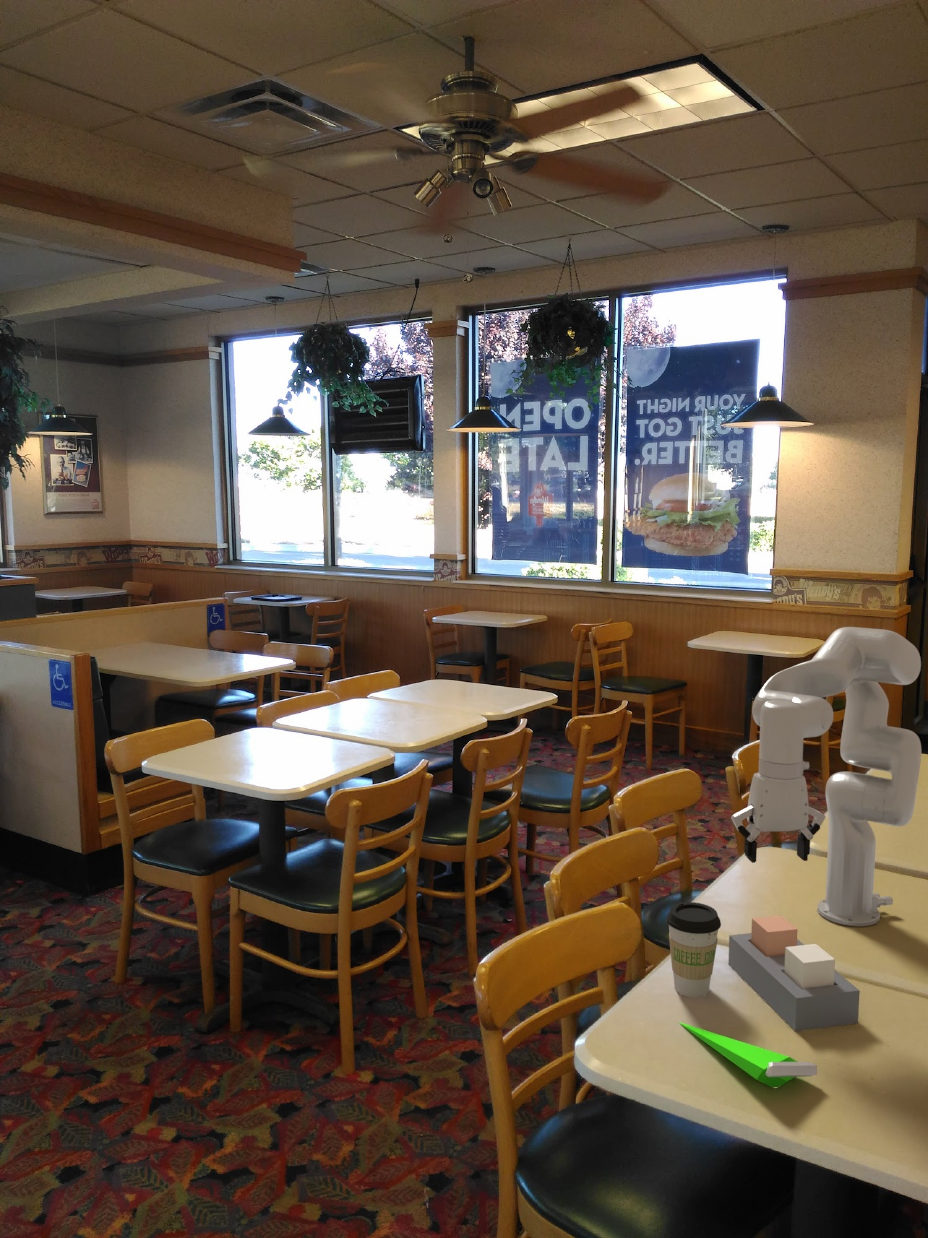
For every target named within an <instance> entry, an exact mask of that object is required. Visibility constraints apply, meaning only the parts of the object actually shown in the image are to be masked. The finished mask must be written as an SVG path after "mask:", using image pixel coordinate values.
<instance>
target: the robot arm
mask: <svg viewBox="0 0 928 1238" xmlns="http://www.w3.org/2000/svg"><path fill="white" fill-rule="evenodd" d="M921 659H922V658H921V656H920V652H919V650H918V648H917V647H916V646H915V645H914V644H913V643H911V642H910V641H909V640H908V639H906V638H905V637H904V636H902V635H901V634H899V633H898V632H896V631H892V630H888V629H881V628H870V627H869V628H868V627H859V626H858V627H856V626H845V627H839V628H837V629H836V630H834V631H833V632H831V634H830V635H829V636H828V638H827V639H826V640H825V641H824V643H823V644H822V645H821V647H820V648H819V650H818V651H817V652H816V653H815V655H814V656H813V657H812V659H810V660H807V661H805V662H801V663H798V664H796V665H793V666H791V667H789V668H785V669H782V670H781V671H779V672H776V673H775V674H774V675H772V676H770V677H769V678H768V680H766V682H765V683H764V684H763V686H762V687H761V688H760V690H759V691H758V692H757V694H756V696H755V698H754V700H753V703H752V708H751V713H752V718H753V720H754V722H755V724H756V725H757V726H759V728H760V729H759V746H758V747H759V749H758V752H759V754H758V772H755V773H753V776H752V778H751V784H750V788H749V795H748V801H747V807H745V808H743V809H741V810H739V811H738V812H735V813H734V814H733V815H731V817H730V819H731V821H732V822H733V825H734V826H735V829H736V831H738V832H739V833H740V834H741V835H742V836H743V838H744V847H743V848H744V851H743V852H744V856H745V857H746V859H748V860H749V861H750V863H752V864H753V863H757V854H758V853H757V850H758V849H757V848H758V842H757V841H756V840H755V839H756V838H757V837H758V836H759V835H760V833H761V832H790V831H791V832H795V831H798V832H799V833H800V834H797V842H796V855H797V857H799V858H800V859H801V860H802V861H803V862H808V855H810V853H811V852H810V850H811V840H813V838H814V836H815V835H816V834H817V833H818V832H819V830H820V829H821V825H823V823H824V821H825V820H826V815H825V814H824V813H823V812H822V811H819V810H817V809H815V808H813V807H811V806H809V794H808V786H807V781H806V777H805V776H804V771H805V770H809V769H810V762H809V761H805V760H804V758H803V757H804V754H803V753H804V739H805V738H816V737H820V736H822V735H824V734H825V733H827V732H828V730H829V729H830V728H831V726H832V724H833V722H834V710H833V707H832V705H831V704H830V702H829V701H828V700H827V699H824V698H826V697H831V696H835V695H839V694H841V693H843V692H844V693H845V699H846V700H845V701H846V702H845V711H844V715H843V723H842V724H843V725H842V731H841V737H840V745H839V746H840V747H839V748H840V750H839V752H840V757H841V758H842V760H843V761H844V762H845V763H847V764H850V765H852V766H856V767H861V768H865V769H871V770H876V771H880V772H887V773H890V776H891V778H886V777H880V776H874V775H871V774H867V773H866V774H865V773H861V772H856V771H855V772H854V771H838V772H836V773H833V774H832V775H830V777H829V778H828V780H827V782H826V785H825V801H826V808H827V815H828V837H827V839H828V840H827V860H826V880H825V881H826V882H825V884H826V885H825V898H824V899H822V900H820V901H819V902H818V903H817V912H818V913H819V915H820V916H822V917H823V919H826V920H829V921H830V922H833V923H836V924H840V925H843V926H850V927H870V926H872V925H875V924H877V923H878V922H879V921H880V919H881V913H880V911H879V910H878V908H881V906H891V905H893V904H894V899H893V898H892V895H884V896H883V895H882V896H881V895H880V893H878V892H874V888H875V887H874V884H875V863H876V850H877V849H876V848H877V847H876V846H877V845H876V844H877V840H876V836H875V835H876V834H875V831H874V830H873V828H872V826H871V824H870V823H869V822H871V823H877V824H881V825H886V826H891V827H897V828H899V827H905V826H906V825H908V824H909V823H910V821H912V818H913V814H914V810H915V805H916V799H917V792H918V791H917V790H918V784H919V778H920V769H921V761H922V743H921V740H920V737H919V736H918V734H917V733H915V732H914V731H912V730H910V729H906V728H902V727H896V726H889V725H888V715H889V708H890V703H889V699H888V696H887V694H886V692H885V691H884V689H883V688H882V686H881V685H880V684H879V683H882V684H883V683H884V684H892V685H893V684H894V685H900V686H907V685H910V684H912V683H914V682H915V681H916V680H917V679H918V677H919V675H920V672H921V670H922V669H921V667H922V661H921ZM809 816H812V818H813V819H812V821H811V822H810V823H809ZM745 819H747V822H748V823H749V824H748V825H747V826H746V827H745V826H744V823H743V820H745Z"/></svg>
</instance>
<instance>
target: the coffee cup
mask: <svg viewBox="0 0 928 1238" xmlns="http://www.w3.org/2000/svg"><path fill="white" fill-rule="evenodd" d="M665 921H666V923H667V924H668V931H669V933H668V941H669V949H670V950H669V951H670V962H671V969H672V973H673V985H674V990H675V991H676V993H678V994H680V995H682V996H685V997H687V998H702V997H705V996H706V995H708V994H709V991H710V985H711V979H712V978H711V977H712V975H713V972H714V971H713V970H714V965H715V958H716V951H717V945H718V933H719V929H721V926H722V923H721V918H720V917H719V915H718V911H717V910H716V909H715V908H713V907H712V906H710V905H709V904H704V903H700V902H695V901H693V902H692V901H685V902H684V901H682V902H678V903H675V904H673V905H672V906H671V907H670V909H669V911H668V913H667V914H666V918H665Z"/></svg>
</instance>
